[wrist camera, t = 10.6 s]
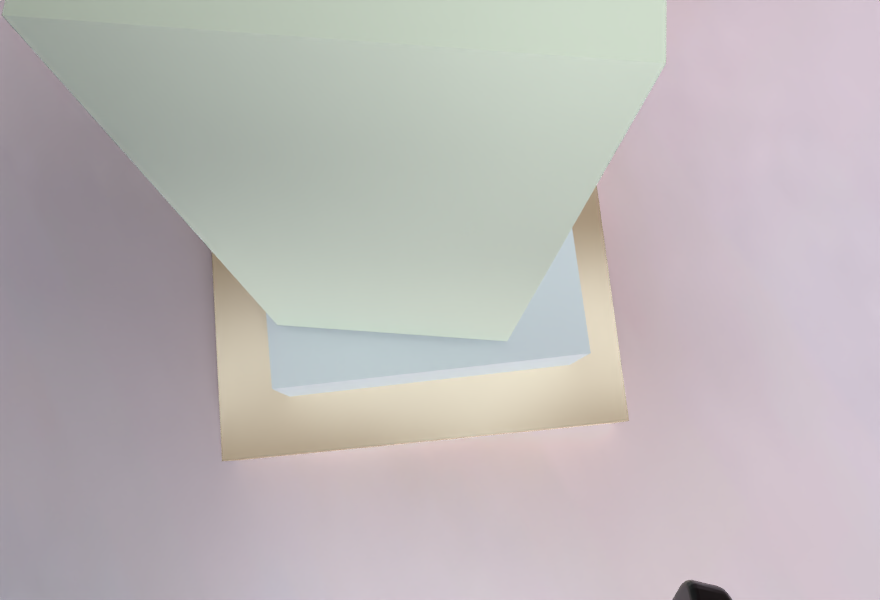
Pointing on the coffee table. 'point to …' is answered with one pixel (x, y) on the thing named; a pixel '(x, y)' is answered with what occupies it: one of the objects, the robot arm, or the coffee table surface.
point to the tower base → (420, 403)
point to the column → (365, 138)
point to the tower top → (435, 344)
